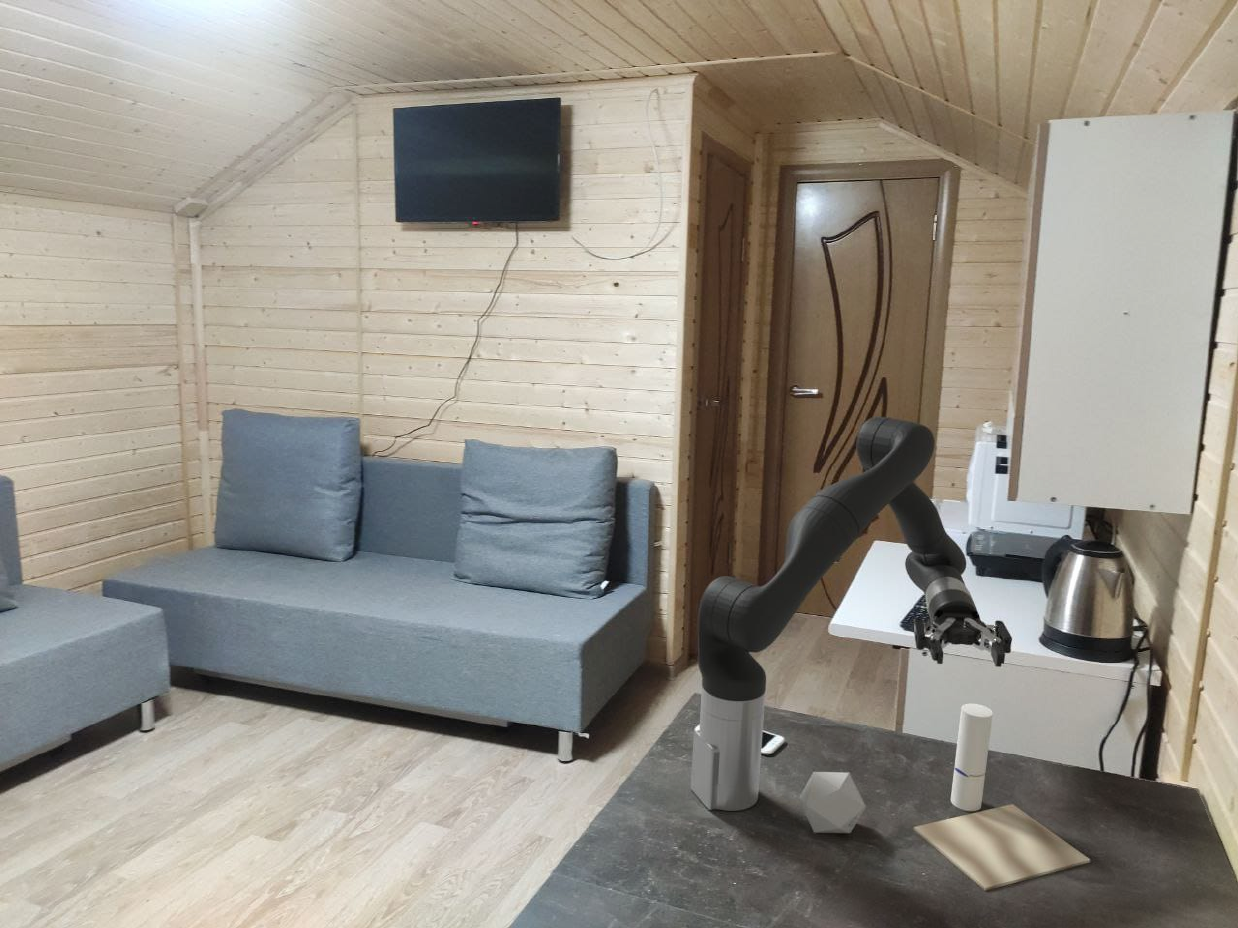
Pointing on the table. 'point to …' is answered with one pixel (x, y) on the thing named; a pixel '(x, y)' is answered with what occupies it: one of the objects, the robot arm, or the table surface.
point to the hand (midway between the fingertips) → (969, 660)
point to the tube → (971, 757)
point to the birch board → (1000, 846)
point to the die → (832, 802)
